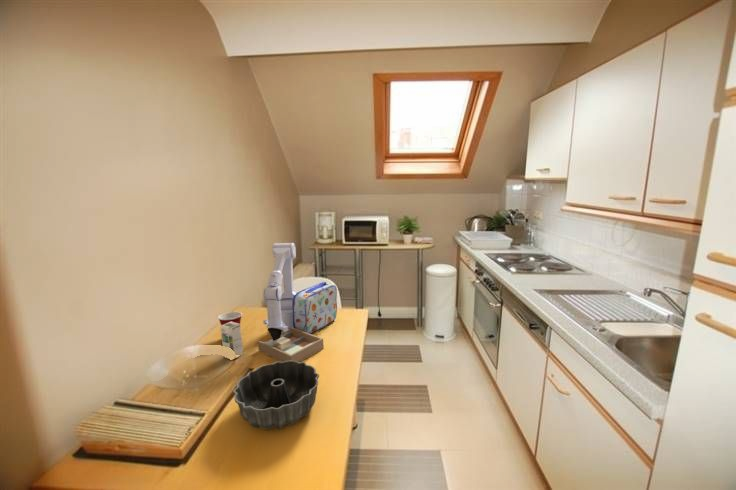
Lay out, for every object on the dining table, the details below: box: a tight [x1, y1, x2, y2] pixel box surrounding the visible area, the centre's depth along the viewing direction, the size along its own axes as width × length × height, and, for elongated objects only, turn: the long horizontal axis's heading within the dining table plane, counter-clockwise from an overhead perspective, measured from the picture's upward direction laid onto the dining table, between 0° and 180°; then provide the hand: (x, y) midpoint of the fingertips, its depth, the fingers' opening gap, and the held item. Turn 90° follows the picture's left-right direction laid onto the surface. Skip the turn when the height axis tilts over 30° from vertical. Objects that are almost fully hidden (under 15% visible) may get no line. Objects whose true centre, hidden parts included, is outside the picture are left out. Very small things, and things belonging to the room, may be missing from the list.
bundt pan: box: [232, 360, 320, 430], centre depth 107 cm, size 26×26×10 cm
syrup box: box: [220, 322, 244, 356], centre depth 141 cm, size 6×6×14 cm
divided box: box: [257, 327, 325, 363], centre depth 147 cm, size 22×18×4 cm
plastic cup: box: [217, 311, 243, 327], centre depth 158 cm, size 11×11×12 cm
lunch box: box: [292, 281, 338, 334], centre depth 168 cm, size 28×10×22 cm, turn 150°
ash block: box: [274, 337, 291, 350], centre depth 144 cm, size 5×5×3 cm
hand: (276, 342), depth 147 cm, fingers closed
